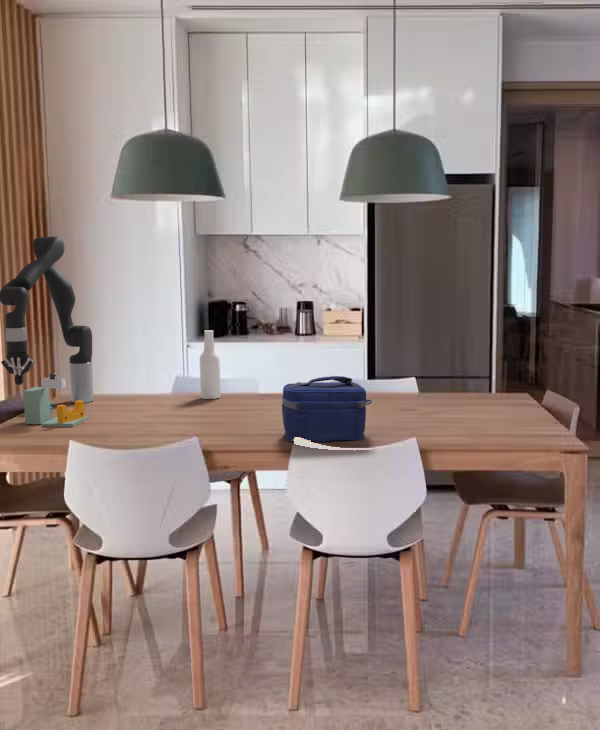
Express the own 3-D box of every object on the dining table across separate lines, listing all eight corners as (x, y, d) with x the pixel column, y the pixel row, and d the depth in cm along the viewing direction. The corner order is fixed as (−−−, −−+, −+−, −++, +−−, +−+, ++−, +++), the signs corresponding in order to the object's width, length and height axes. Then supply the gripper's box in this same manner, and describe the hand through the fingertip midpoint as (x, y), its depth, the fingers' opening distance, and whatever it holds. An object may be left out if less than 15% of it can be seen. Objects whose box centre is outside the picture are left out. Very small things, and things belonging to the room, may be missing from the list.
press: (39, 418, 315) (37, 385, 313) (88, 418, 312) (86, 385, 310) (21, 426, 300) (19, 392, 298) (73, 427, 298) (71, 392, 296)
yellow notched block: (75, 416, 311) (74, 400, 311) (84, 417, 310) (83, 400, 309) (54, 422, 301) (53, 405, 300) (63, 423, 299) (62, 406, 298)
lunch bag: (364, 427, 290) (364, 371, 287) (378, 440, 269) (378, 380, 267) (279, 431, 285) (278, 374, 283) (287, 445, 265) (286, 383, 262)
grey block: (45, 386, 306) (44, 372, 306) (65, 386, 306) (64, 372, 305) (41, 388, 303) (40, 374, 302) (61, 388, 302) (61, 374, 301)
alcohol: (197, 399, 351) (194, 331, 347) (207, 395, 359) (204, 329, 355) (214, 400, 348) (212, 331, 344) (224, 397, 356) (222, 329, 352)
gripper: (37, 338, 306) (40, 383, 309) (4, 338, 308) (7, 383, 310) (28, 340, 299) (31, 386, 301) (-5, 340, 301) (-2, 386, 303)
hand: (19, 384), depth 306 cm, fingers closed
